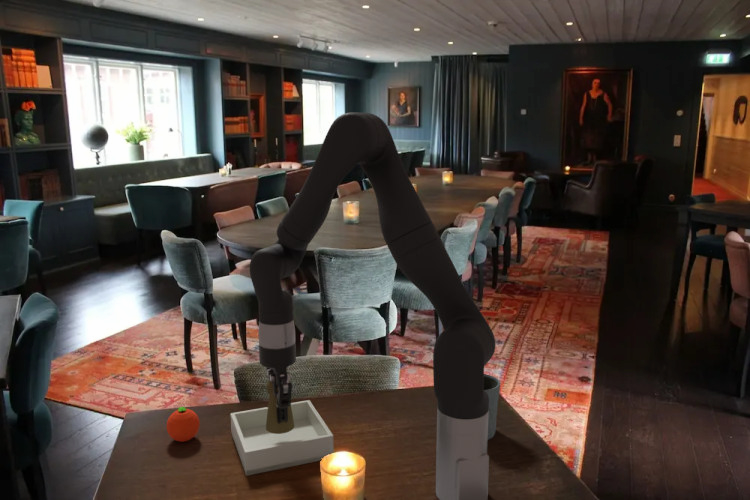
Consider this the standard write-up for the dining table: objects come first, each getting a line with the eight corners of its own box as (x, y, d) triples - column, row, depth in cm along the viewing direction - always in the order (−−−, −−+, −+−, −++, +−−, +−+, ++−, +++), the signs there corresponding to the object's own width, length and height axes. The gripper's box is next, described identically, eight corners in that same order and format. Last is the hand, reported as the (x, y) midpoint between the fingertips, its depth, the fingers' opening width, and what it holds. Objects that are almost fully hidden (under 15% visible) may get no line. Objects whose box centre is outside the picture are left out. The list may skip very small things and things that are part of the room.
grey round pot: (465, 445, 134) (466, 393, 132) (445, 424, 144) (446, 375, 141) (507, 438, 137) (509, 386, 135) (485, 417, 147) (486, 369, 144)
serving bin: (333, 457, 130) (333, 435, 129) (246, 475, 123) (245, 452, 122) (309, 419, 146) (309, 400, 145) (231, 434, 140) (230, 413, 139)
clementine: (165, 433, 140) (163, 403, 139) (197, 427, 143) (195, 398, 141) (169, 450, 133) (166, 419, 131) (202, 443, 136) (200, 413, 134)
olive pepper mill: (288, 435, 130) (287, 385, 128) (261, 432, 131) (259, 383, 129) (298, 421, 136) (296, 374, 134) (271, 419, 137) (270, 371, 135)
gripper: (303, 349, 125) (305, 429, 128) (286, 328, 138) (289, 401, 141) (266, 355, 122) (269, 436, 125) (252, 332, 135) (255, 406, 138)
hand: (279, 417), depth 133 cm, fingers closed on olive pepper mill, 4 cm apart
